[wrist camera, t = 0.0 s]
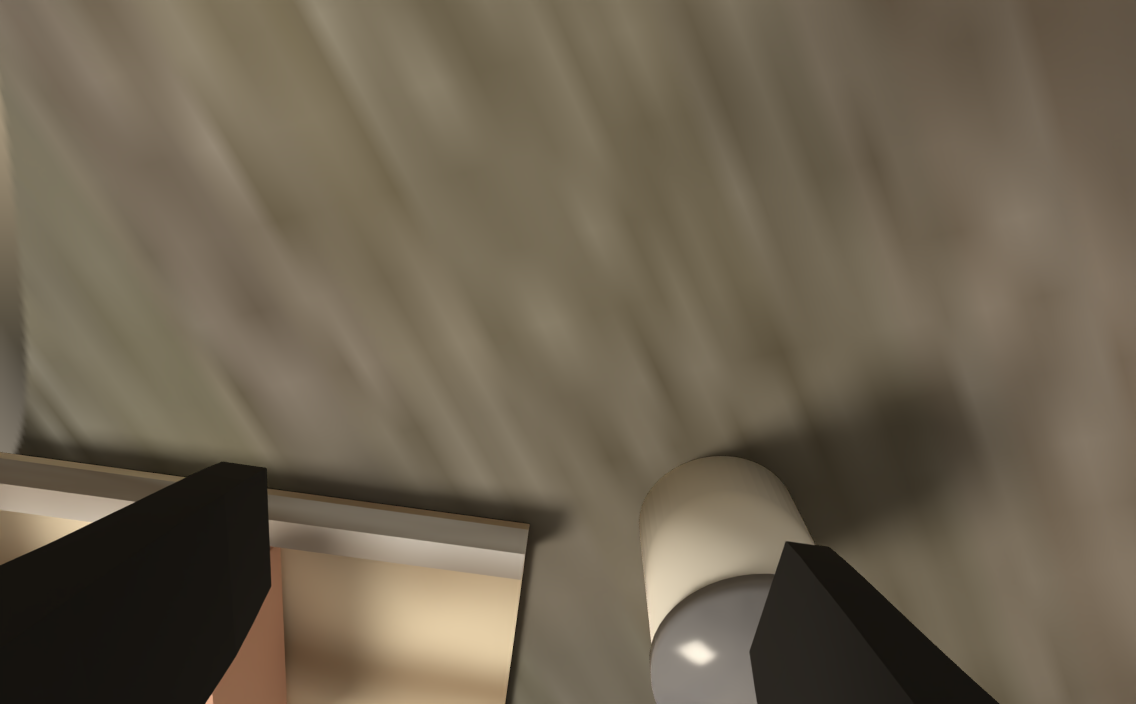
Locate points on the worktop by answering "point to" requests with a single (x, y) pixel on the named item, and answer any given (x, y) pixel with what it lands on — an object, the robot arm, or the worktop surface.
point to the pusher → (259, 653)
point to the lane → (333, 582)
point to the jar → (711, 574)
